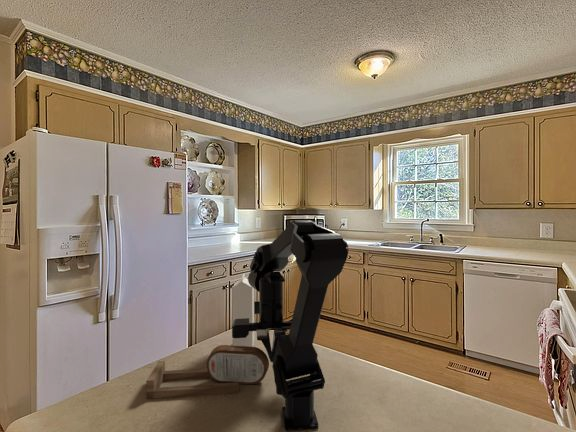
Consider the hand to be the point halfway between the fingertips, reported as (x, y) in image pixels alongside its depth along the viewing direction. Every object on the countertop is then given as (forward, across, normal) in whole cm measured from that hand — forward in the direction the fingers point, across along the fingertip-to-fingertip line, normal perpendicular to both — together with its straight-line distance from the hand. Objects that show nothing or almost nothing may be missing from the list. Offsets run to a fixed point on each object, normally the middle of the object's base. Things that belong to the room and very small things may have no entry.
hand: (271, 361), depth 76 cm
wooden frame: (+4, +18, 0) cm, 18 cm away
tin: (+5, +8, 0) cm, 10 cm away
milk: (+5, +8, -20) cm, 22 cm away
